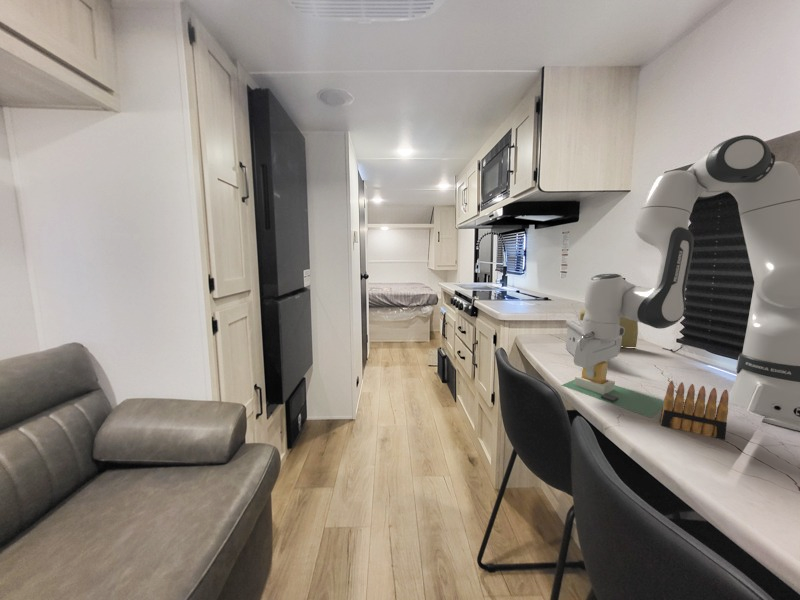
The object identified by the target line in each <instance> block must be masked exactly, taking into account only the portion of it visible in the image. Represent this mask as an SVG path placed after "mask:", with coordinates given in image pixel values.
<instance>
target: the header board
mask: <svg viewBox="0 0 800 600" xmlns="http://www.w3.org/2000/svg"><path fill="white" fill-rule="evenodd" d="M615 382H616V381H615V380H611V379H608V378H606V383H604V384H599V383H596V382H593V381H590V380H587V379H584V378H582V375H577V376H574V379H572V380H570V381H568V382H566V383H563V384H561V386H562V387H565V388H568V389H571V390H573V391H576V392H578V393H581V394H584V395H587V396H589V397H592V398H595V399H598V400H600V401H603V402H605V403H608V404H612V405H613V406H617V407H620V408H623V409H625V410H627V411H631V412H633V413H636V414H638V415H641V416H644V417H647V418H651V419H652V418H653V417H654V416H656V415H657V414H658V413H660V412H662V409H663V405H664V400H663V399H660V398H657V397H653V396H650V395H648V394H644V393H642V392H638V391H635V390H632V389H628V388H625V387H621V386H619V385H616V383H615Z"/></svg>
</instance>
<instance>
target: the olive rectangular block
mask: <svg viewBox="0 0 800 600" xmlns="http://www.w3.org/2000/svg"><path fill="white" fill-rule="evenodd" d="M585 312H586V309H581V310H580V311H579V320H583V317H584V315H585ZM638 324H639V322H637V321H633V320H630V319H627V318H623V317H621V318H620V324H619V325H620V326H621V327H624V328H625V331H624V334H623V335H621V336H622V341H621V346H623V347H636V348H637V342H638V334H639V325H638Z"/></svg>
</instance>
